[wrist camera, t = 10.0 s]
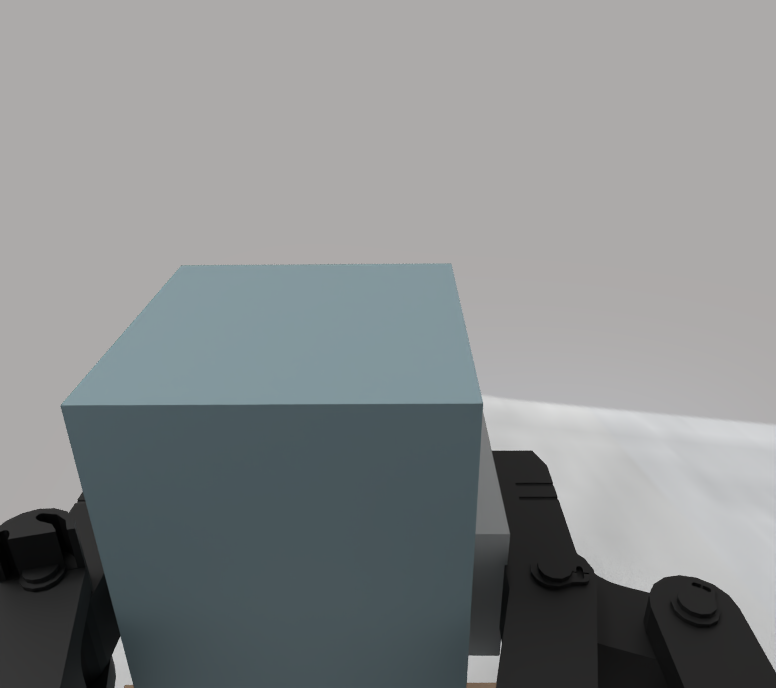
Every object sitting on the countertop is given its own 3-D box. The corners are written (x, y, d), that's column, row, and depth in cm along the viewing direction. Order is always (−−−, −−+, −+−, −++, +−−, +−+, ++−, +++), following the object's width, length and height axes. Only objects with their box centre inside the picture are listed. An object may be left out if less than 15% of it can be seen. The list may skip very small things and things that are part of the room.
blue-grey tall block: (438, 672, 17) (451, 263, 12) (453, 903, 13) (482, 403, 8) (243, 672, 17) (180, 265, 12) (190, 902, 13) (60, 405, 8)
